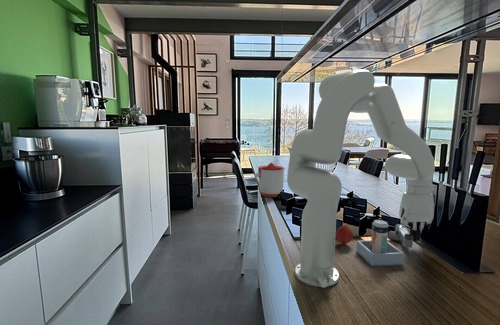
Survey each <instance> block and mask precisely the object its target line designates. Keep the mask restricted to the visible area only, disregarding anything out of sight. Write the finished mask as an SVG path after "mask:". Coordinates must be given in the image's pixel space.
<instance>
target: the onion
mask: <svg viewBox="0 0 500 325" xmlns="http://www.w3.org/2000/svg"><path fill="white" fill-rule="evenodd" d="M335 238H336V239H337V241H338V242H339V243H340V244H342V245H344V246H345V245H347V244H349V243H351V242H352V240H353V238H354V233H353V231H352V229H351V228H350V227H349V226H348V223H344V224H343V225H341V226H340V227H339V228H337V229H336V234H335Z"/></svg>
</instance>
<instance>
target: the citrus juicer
mask: <svg viewBox="0 0 500 325" xmlns="http://www.w3.org/2000/svg"><path fill="white" fill-rule="evenodd" d="M257 168H258V170H257V173H256V174H255V176H254V177H255V178H258V187H259V193H260V194H261V196H263V197H265V198H278V197H277V196H278V194H279V193H280V192H281V191H282V192H283V188H284V181H285V180H284V179H285V176H284V175H285V167H284V166H280V165H275V164H274V163H273V162H269V164H268V165H261V166H258V167H257Z"/></svg>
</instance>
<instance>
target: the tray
mask: <svg viewBox="0 0 500 325" xmlns="http://www.w3.org/2000/svg"><path fill="white" fill-rule="evenodd" d="M370 250H371V240H357V241H356V250H355V251H356V253H357V254H358V255H359V256H360V257H361V258H363V260H364V261H366V262H367V263H368V265H370V266H371V267H372V268H373V267H391V266H403V264H404V257H405V256H404V254H405V253H404V252H403V251H401V250H400V249H399V248H398V247H396V246H394V245H393V244H392V243H391V242H390V241H387V251H386V253H378V254H373V253H372V252H371V251H370Z"/></svg>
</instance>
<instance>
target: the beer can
mask: <svg viewBox="0 0 500 325" xmlns="http://www.w3.org/2000/svg"><path fill="white" fill-rule="evenodd" d="M370 237H371V250H370V251H371V252H372V253H373V254H378V253H386V251H387V238H388V239H389V223H388V221H385V220H383V219H375V220H373V222H372V224H371V236H370Z"/></svg>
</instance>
